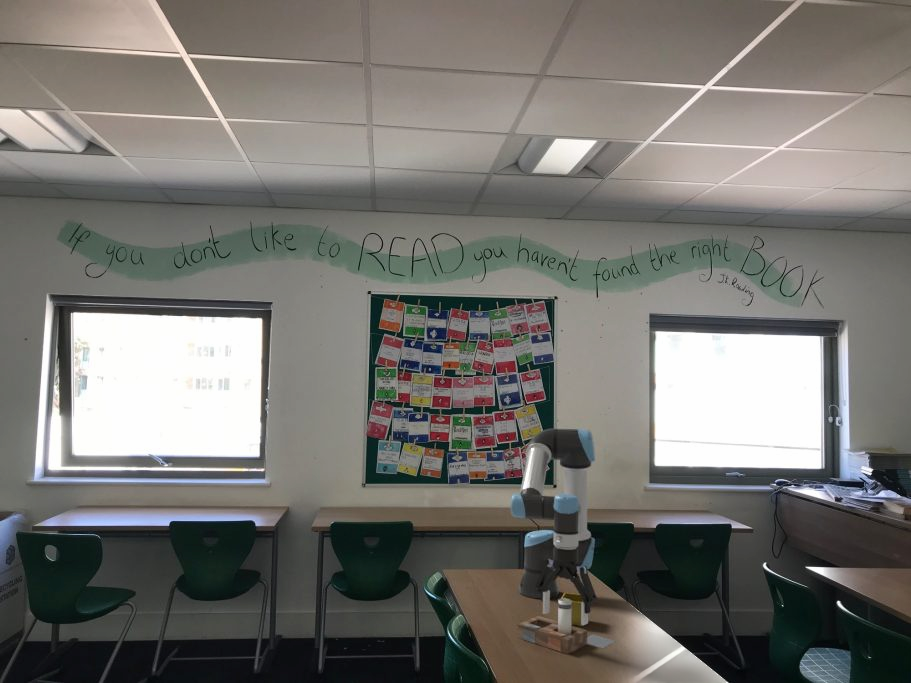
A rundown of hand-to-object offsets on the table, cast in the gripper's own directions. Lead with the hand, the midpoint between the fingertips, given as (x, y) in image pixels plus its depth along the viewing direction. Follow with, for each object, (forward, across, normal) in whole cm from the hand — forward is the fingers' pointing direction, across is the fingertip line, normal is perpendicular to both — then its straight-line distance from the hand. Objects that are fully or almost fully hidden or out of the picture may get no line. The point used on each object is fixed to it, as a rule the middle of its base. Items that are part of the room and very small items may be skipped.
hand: (564, 618), depth 197 cm
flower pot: (+9, -8, +20) cm, 24 cm away
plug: (+9, 0, 0) cm, 9 cm away
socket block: (+9, -4, 0) cm, 10 cm away
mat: (+9, +6, +10) cm, 14 cm away
